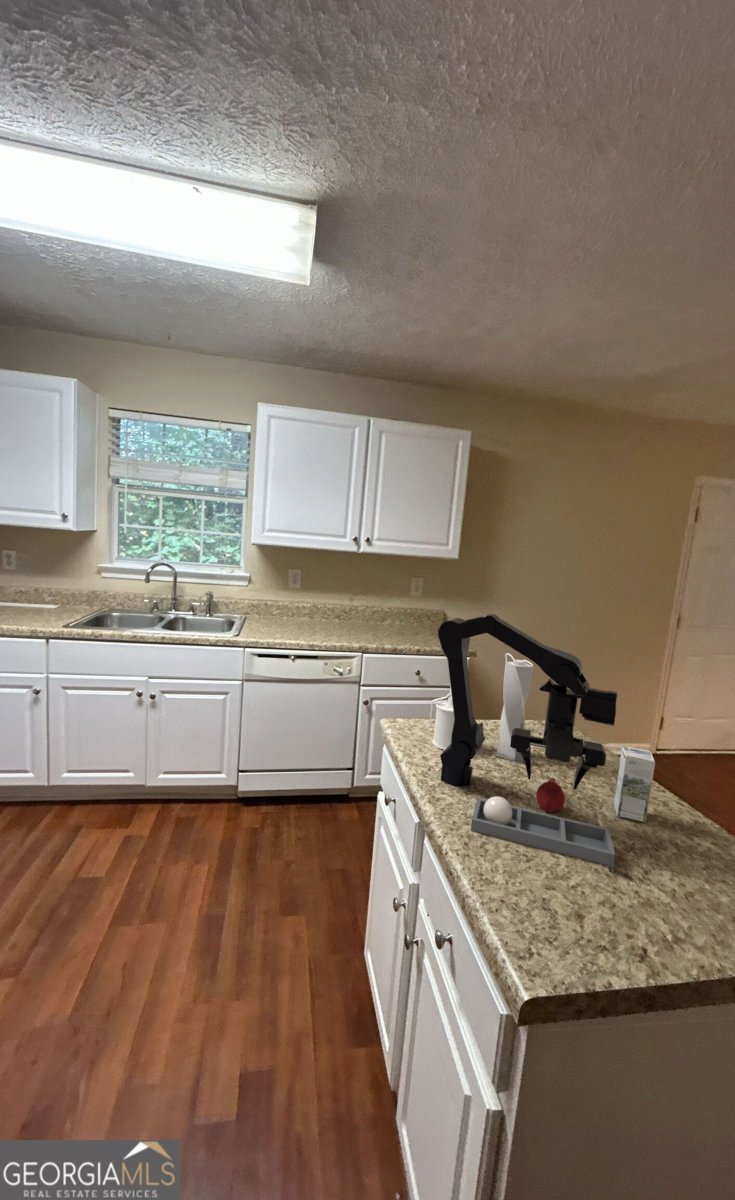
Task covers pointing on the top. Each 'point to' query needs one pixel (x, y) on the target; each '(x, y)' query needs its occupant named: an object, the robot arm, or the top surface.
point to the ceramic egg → (498, 810)
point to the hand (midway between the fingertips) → (551, 783)
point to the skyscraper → (513, 706)
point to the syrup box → (634, 784)
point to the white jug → (443, 722)
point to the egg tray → (550, 834)
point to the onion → (550, 796)
